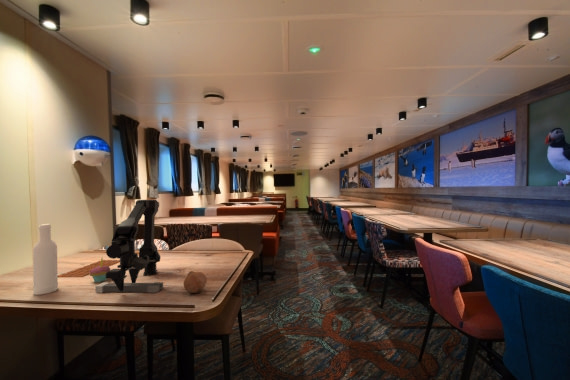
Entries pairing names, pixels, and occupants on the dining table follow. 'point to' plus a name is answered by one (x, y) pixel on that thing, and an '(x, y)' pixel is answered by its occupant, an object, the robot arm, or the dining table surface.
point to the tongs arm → (146, 283)
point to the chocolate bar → (88, 269)
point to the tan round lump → (194, 282)
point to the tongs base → (127, 288)
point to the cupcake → (99, 272)
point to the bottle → (45, 262)
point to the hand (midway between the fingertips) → (127, 287)
